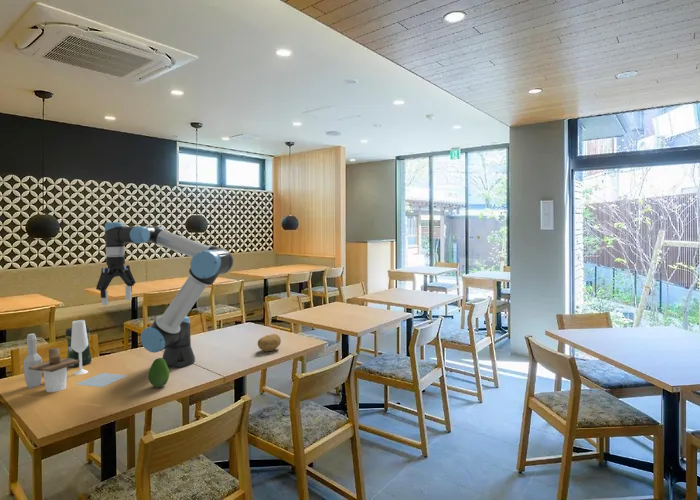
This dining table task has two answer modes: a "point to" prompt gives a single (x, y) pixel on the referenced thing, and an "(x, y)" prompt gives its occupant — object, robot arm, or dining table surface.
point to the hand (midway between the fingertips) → (117, 302)
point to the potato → (269, 342)
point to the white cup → (55, 380)
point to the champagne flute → (79, 341)
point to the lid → (54, 362)
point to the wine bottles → (75, 355)
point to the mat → (101, 380)
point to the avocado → (158, 373)
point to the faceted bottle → (32, 363)
